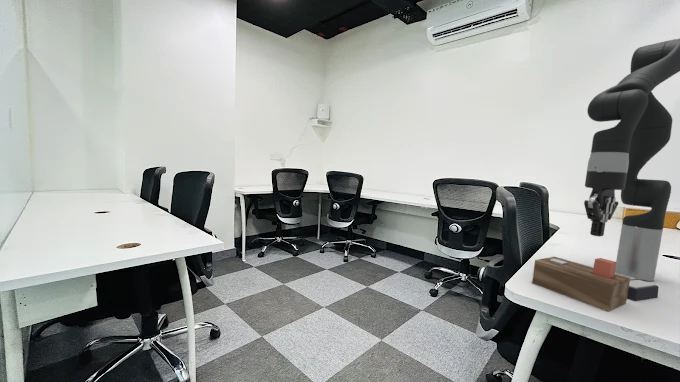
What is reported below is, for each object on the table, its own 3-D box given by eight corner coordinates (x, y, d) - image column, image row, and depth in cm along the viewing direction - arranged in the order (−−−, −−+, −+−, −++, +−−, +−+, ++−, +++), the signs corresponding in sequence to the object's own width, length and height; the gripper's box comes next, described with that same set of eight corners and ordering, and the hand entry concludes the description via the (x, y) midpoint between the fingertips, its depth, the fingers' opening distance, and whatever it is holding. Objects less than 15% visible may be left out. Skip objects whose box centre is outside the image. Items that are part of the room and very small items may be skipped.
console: (551, 277, 85) (554, 256, 84) (626, 303, 70) (630, 277, 70) (532, 282, 80) (535, 260, 79) (608, 311, 65) (612, 283, 64)
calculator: (594, 266, 89) (659, 283, 75) (593, 278, 90) (658, 298, 75) (572, 268, 86) (637, 286, 72) (571, 281, 86) (635, 302, 72)
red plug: (596, 282, 72) (600, 257, 72) (612, 288, 70) (616, 261, 69) (591, 284, 71) (594, 259, 70) (607, 289, 68) (611, 263, 68)
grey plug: (551, 280, 82) (554, 258, 81) (564, 285, 79) (567, 262, 78) (546, 282, 80) (549, 259, 80) (558, 287, 77) (562, 263, 77)
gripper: (599, 171, 76) (590, 231, 78) (575, 168, 70) (566, 233, 72) (637, 172, 69) (626, 238, 71) (614, 169, 64) (603, 241, 65)
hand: (596, 235), depth 71 cm, fingers closed
